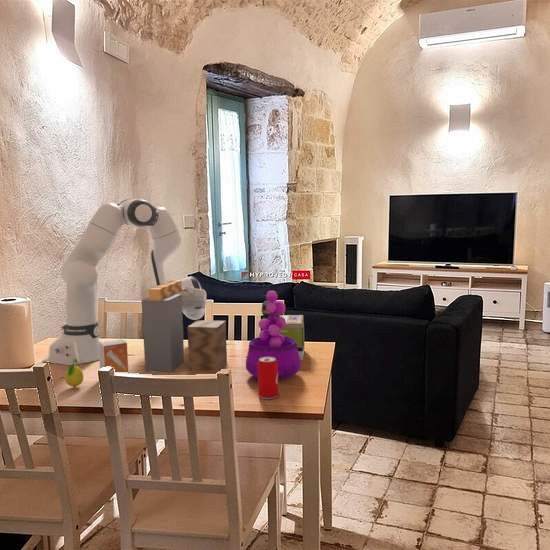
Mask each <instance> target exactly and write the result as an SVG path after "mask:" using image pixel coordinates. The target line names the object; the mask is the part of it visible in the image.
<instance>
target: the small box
mask: <svg viewBox="0 0 550 550" xmlns="http://www.w3.org/2000/svg"><path fill="white" fill-rule="evenodd" d="M99 358H100V359H99V369H100V368H102V367H106V366H111V367H114V369H115V372H128V373H129V358H128V342H127V341H125V340H123V339H122V338H121V339H120V338H119V339H112V340H108V341H107V340H106V341H101V342H100V341H99Z"/></svg>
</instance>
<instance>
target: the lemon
mask: <svg viewBox="0 0 550 550" xmlns="http://www.w3.org/2000/svg"><path fill="white" fill-rule="evenodd" d="M74 362H76V363H77V364H76V365H74ZM68 366H69V367H68V368H67V369H66V373H65V377H64V378H65V381H66V385H68V386H70V387H72V388H74V389H75V388H77V387H78V386H80V385H81V384H82V383H83V382H84V373H83V370H82V369H81V368H80V367H79V364H78V361H77V359H75V360H74V358H73V364H72V365H68Z"/></svg>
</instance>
